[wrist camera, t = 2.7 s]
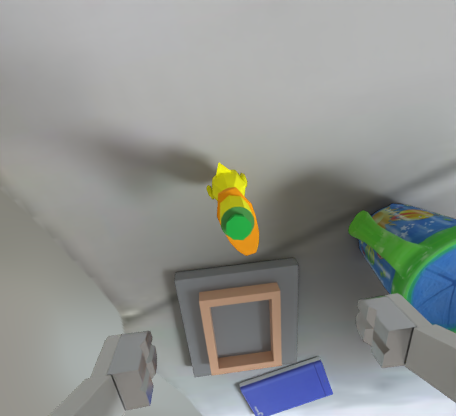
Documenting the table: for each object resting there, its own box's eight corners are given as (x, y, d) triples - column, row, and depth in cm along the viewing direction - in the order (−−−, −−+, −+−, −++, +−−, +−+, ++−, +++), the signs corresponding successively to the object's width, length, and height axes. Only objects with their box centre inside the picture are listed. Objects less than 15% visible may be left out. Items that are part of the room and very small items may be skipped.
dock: (294, 257, 31) (302, 273, 28) (293, 353, 37) (300, 373, 34) (175, 272, 30) (172, 289, 28) (195, 366, 37) (194, 388, 34)
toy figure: (253, 206, 28) (285, 275, 17) (222, 217, 28) (233, 292, 17) (233, 146, 26) (254, 181, 14) (199, 159, 26) (194, 203, 15)
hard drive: (258, 421, 41) (333, 395, 40) (240, 390, 38) (322, 362, 37) (256, 410, 42) (329, 385, 42) (238, 380, 39) (317, 352, 38)
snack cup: (308, 234, 30) (354, 296, 21) (373, 157, 27) (462, 188, 18) (396, 290, 34) (468, 361, 25) (461, 228, 31) (570, 283, 22)
